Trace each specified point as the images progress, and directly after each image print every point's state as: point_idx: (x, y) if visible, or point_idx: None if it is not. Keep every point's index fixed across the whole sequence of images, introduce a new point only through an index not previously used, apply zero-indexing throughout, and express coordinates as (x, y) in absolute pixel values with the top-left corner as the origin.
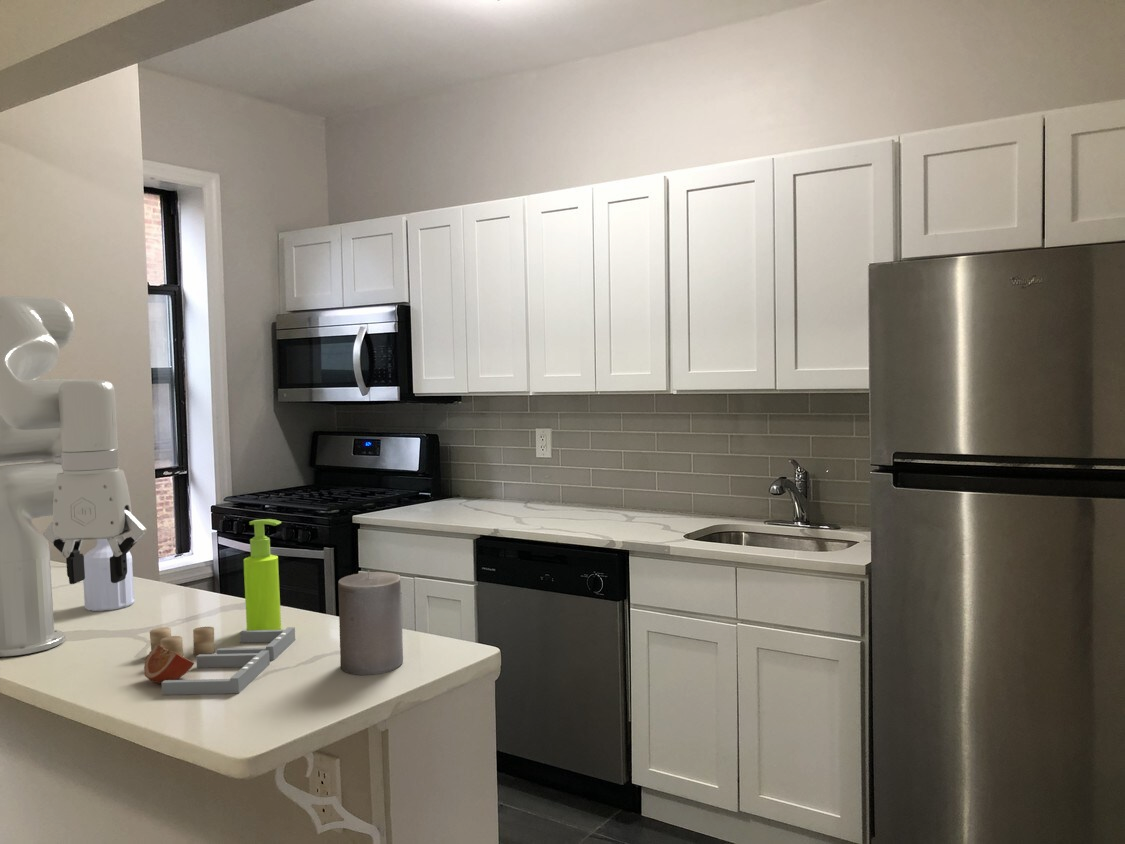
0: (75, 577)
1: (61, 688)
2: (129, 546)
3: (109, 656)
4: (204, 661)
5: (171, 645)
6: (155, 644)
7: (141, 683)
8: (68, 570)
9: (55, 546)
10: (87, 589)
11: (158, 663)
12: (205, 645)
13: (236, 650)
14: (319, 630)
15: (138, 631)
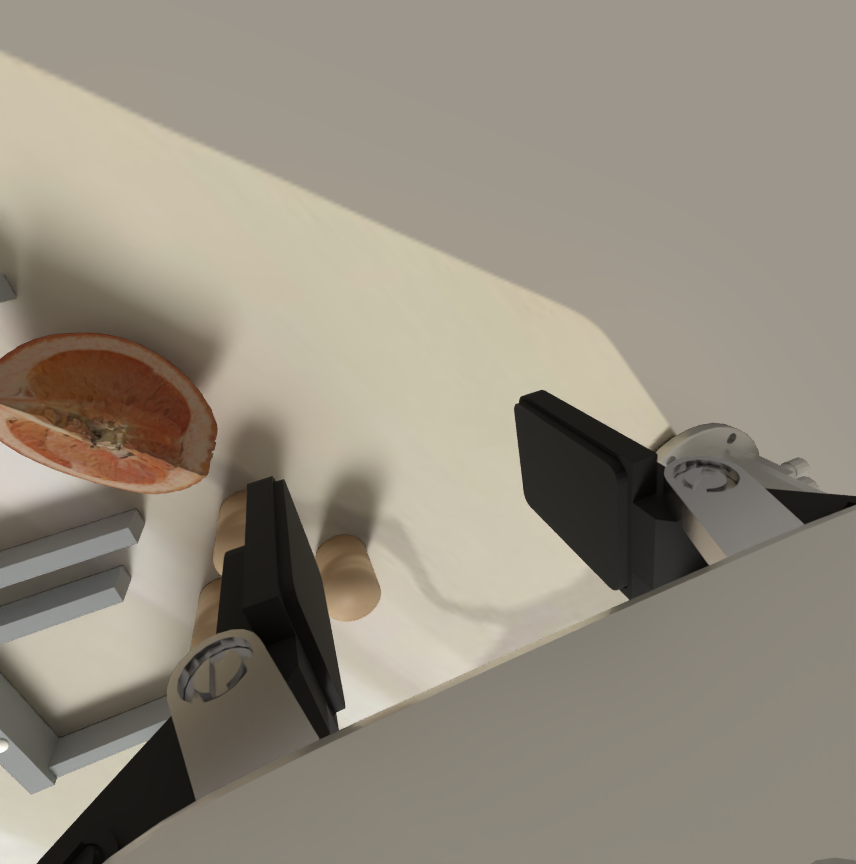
0: (531, 426)
1: (407, 272)
2: (86, 818)
3: (463, 504)
4: (106, 527)
5: (225, 531)
6: (343, 555)
7: (194, 357)
8: (590, 417)
9: (853, 498)
10: None
11: (103, 382)
12: (201, 606)
13: (44, 609)
14: (47, 822)
15: (516, 640)
